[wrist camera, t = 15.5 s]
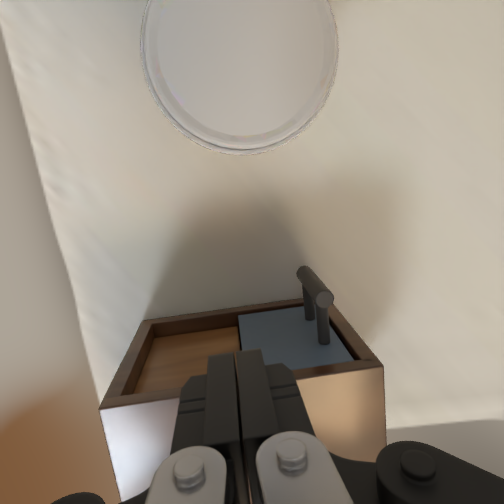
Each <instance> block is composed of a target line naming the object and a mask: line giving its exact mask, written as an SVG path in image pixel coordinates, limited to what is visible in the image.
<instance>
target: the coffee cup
mask: <svg viewBox="0 0 504 504" xmlns="http://www.w3.org/2000/svg"><path fill="white" fill-rule="evenodd" d="M140 46H141V59H142V66H143V70H144V74H145V78H146V81H147V84H148V86H149V89H150V92H151V94H152V96H153V98H154V100H155V102H156V103H157V105H158V107H159V108H160V110H161V111H162V113H163V114H164V115H165V117H166V118H167V119H168V120H169V121H170V122H171V123H172V125H173V126H174V127H175V128H176V129H178V130H179V131H180V132H181V133H182V134H183V135H185V136H186V137H188V138H189V139H190V140H192V141H194V142H195V143H197V144H199V145H201V146H203V147H205V148H208V149H210V150H213V151H217V152H220V153H225V154H231V155H253V154H260V153H264V152H268V151H271V150H274V149H276V148H279V147H281V146H283V145H285V144H287V143H288V142H290V141H291V140H293V139H294V138H296V137H297V136H298V135H300V134H301V133H302V132H303V131H304V130H305V129H306V128H307V127H308V126H309V125H310V124H311V123H312V122H313V121H314V119H315V118H316V117H317V116H318V114H319V113H320V111H321V109H322V108H323V106H324V105H325V103H326V101H327V99H328V97H329V94H330V92H331V89H332V86H333V83H334V79H335V75H336V70H337V64H338V51H339V50H338V34H337V27H336V23H335V19H334V15H333V12H332V9H331V6H330V3H329V1H328V0H148V2H147V5H146V8H145V12H144V16H143V21H142V27H141V39H140Z"/></svg>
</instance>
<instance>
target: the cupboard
mask: <svg viewBox="0 0 504 504" xmlns="http://www.w3.org/2000/svg"><path fill="white" fill-rule="evenodd" d="M314 305H315V302H314ZM301 306H304V301H303V298H301V299H293V300H286V301H279V302H272V303H265V304H258V305H251V306H244V307H236V308H229V309H222V310H215V311H208V312H201V313H194V314H187V315H179V316H172V317H165V318H158V319H151V320H144V321H142V323H141V325H140V327H139V329H138V331H137V333H136V335H135V337H134V339H133V341H132V343H131V345H130V347H129V349H128V351H127V353H126V355H125V357H124V359H123V360H122V362H121V364H120V366H119V368H118V370H117V372H116V374H115V376H114V378H113V380H112V382H111V384H110V386H109V388H108V390H107V392H106V394H105V396H104V398H103V400H102V402H101V405H100V407H99V413H100V418H101V422H102V426H103V430H104V434H105V438H106V443H107V447H108V451H109V455H110V459H111V463H112V467H113V472H114V476H115V480H116V484H117V488H118V492H119V496H120V501H121V502H123V501H126V500H128V499H130V498H132V497H134V496H136V495H138V494H140V493H142V492H143V491H145V490H146V489H148V488H149V487H150V485H151V482H152V478H153V476H154V473H155V471H156V469H157V468H158V466H159V465H160V464H161V463H162V462H163V461H164V460H165V459H166V458H167V457H169V456H170V451H171V446H172V440H173V434H174V428H175V423H176V417H177V411H178V405H179V400H180V394H181V388H182V387H183V386H184V385H185V383H186V382H187V381H188V379H189V378H190V377H191V376H196V375H203V374H207V364H208V356H209V355H215V354H222V353H229V352H234V357H235V364H236V371H237V361H236V351H242V345H241V337H240V329H239V320H238V315H245V314H252V313H259V312H266V311H273V310H280V309H287V308H294V307H301ZM328 315H329V325H330V326H331V328H332V329H333V331H334V332H335V333H336V335H337V336H338V338H339V339H340V341H341V342H342V344H343V345H344V346H345V348H346V349H347V351H348V352H349V354H350V355H351V357H352V358H353V360H354V361H350V362H343V363H336V364H330V365H323V366H316V367H310V368H303V369H297V370H292V371H293V373H294V376H295V379H296V382H297V386H298V387H299V390H300V393H301V396H302V399H303V401H304V404H305V407H306V410H307V413H308V416H309V418H310V421H311V424H312V427H313V430H314V433H315V435H316V437H317V438H318V439H319V440H321V441H322V443H323V444H324V445H325V446H326V448H327V450H328V451H329V452H331V453H333V454H335V455H337V456H339V457H342V458H346V459H350V460H356V461H366V462H375V463H376V458H377V456H378V454H379V452H380V451H381V450H382V449H383V448H384V447H386V446H387V442H386V415H385V389H384V366H383V364H382V363H381V362H380V361H379V359H378V358H377V357H376V356H375V355H374V353H373V352H372V351H371V350H370V348H369V347H368V346H367V345H366V344H365V342H364V341H363V340H362V339H361V337H360V336H359V335H358V334H357V333H356V331H355V330H354V329H353V328H352V326H351V325H350V324H349V323H348V322H347V320H346V319H345V318H344V317H343V315H342V314H341V313H340V312H339V311H338V309H337V308H336V307H335V306H334V305H333V303H332V305H331V306H330V307H328ZM237 378H238V373H237ZM248 480H249V477H248ZM249 491H250V484H249ZM250 502H251V504H252V498H251V491H250Z"/></svg>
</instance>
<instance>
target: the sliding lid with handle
mask: <svg viewBox="0 0 504 504" xmlns="http://www.w3.org/2000/svg"><path fill="white" fill-rule="evenodd" d="M296 274H297V277H298V279H299V280H300V282H301V283H302V289H303V301H304V306H301V307H294V308H287V309H280V310H273V311H266V312H259V313H252V314H245V315H238V320H239V329H240V337H241V345H242V350H249V349H256V348H261V351H262V355H263V360H264V364H265V365H269V364H276V363H283V364H284V365H286V366H287V367H288V368H289V369H290V370H297V369H303V368H310V367H316V366H323V365H330V364H336V363H343V362H350V361H354V360H353V358H352V357H351V355H350V354H349V352H348V351H347V349H346V348H345V346H344V345H343V344H342V342H341V341H340V339H339V338H338V336H337V335H336V333H335V332H334V331H333V329H332V328H331V326H330V325H329V315H328V307H330V306H331V305H332V303H333V301H334V296H333V294H332V293H331V291H330V290H329V289H328V288H327V287H326V286H325V285H324V283H323V282H322V281H321V280H320V279H319V278H318V277H317V276H316V274H315V273H314V272H313V271H312V270H311V269H310V268H309V267H308V266H301V267H300V268H298V270H297V273H296ZM314 302H315V305H314Z"/></svg>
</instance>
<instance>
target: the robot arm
mask: <svg viewBox="0 0 504 504" xmlns="http://www.w3.org/2000/svg"><path fill="white" fill-rule="evenodd" d="M236 361H237V371H236V364H235V357H234V352H229V353H222V354H215V355H209V356H208V364H207V374H203V375H196V376H191V377H190V378H189V379H188V381H187V382H186V383H185V385H184V386H183V387H182V388H181V394H180V400H179V405H178V411H177V417H176V423H175V428H174V434H173V440H172V446H171V451H170V456H169V457H167V458H166V459H165V460H164V461H163V462H162V463H161V464H160V465H159V466H158V468H157V469H156V471H155V473H154V476H153V478H152V482H151V485H150V487H149V488H148V489H146V490H145V491H143V492H142V493H140V494H138V495H136V496H134V497H132V498H130V499H128V500H126V501H123V502H121V503H119V504H251V502H250V491H251V498H252V504H504V479H503V478H500V477H498V476H496V475H494V474H492V473H490V472H487V471H485V470H483V469H480V468H479V467H477V466H474V465H472V464H470V463H467V462H466V461H463V460H461V459H459V458H457V457H455V456H453V455H450V454H448V453H446V452H444V451H442V450H440V449H437V448H435V447H433V446H430V445H428V444H424V443H420V442H414V441H400V442H395V443H392V444H389V445H388V446H386V447H384V448H383V449H382V450H381V451H380V452H379V454H378V456H377V458H376V463H375V462H366V461H356V460H350V459H346V458H342V457H339V456H337V455H335V454H333V453H331V452H329V451H328V450H327V448H326V446H325V445H324V444H323V443H322V441H321V440H319V439H318V438H317V437H316V435H315V433H314V430H313V427H312V424H311V421H310V418H309V416H308V413H307V410H306V407H305V404H304V401H303V399H302V396H301V393H300V390H299V387H298V386H297V382H296V379H295V376H294V373H293V371H292V370H290V369H289V368H288V367H287V366H286V365H284V364H283V363H276V364H269V365H265V364H264V360H263V355H262V351H261V348H256V349H249V350H242V351H236ZM237 373H238V378H237ZM248 477H249V480H248ZM249 484H250V491H249ZM52 504H105V502H104V501H103V499H102V498H101V497H100V496H98V495H96V494H94V493H89V492H81V493H75V494H71V495H68V496H65V497H62V498H61V499H58V500H57V501H54V502H53V503H52Z"/></svg>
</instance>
